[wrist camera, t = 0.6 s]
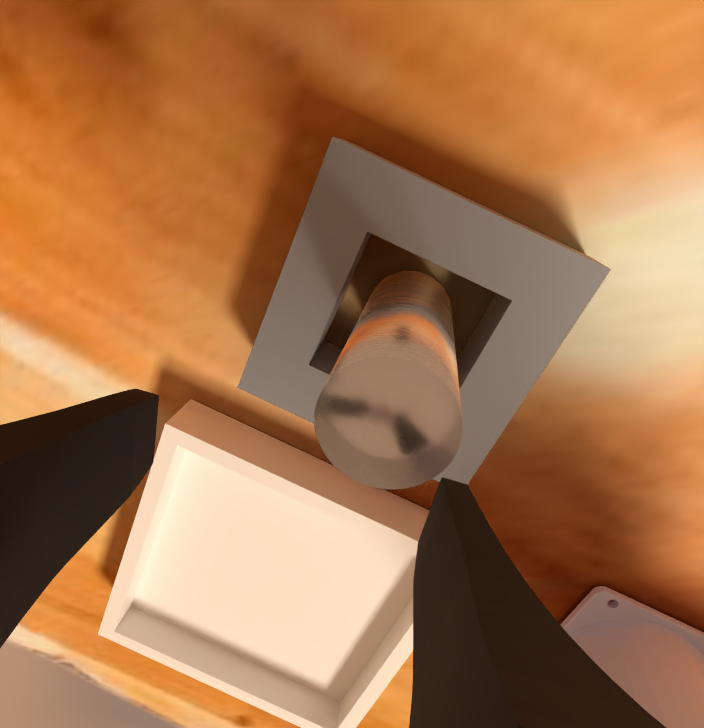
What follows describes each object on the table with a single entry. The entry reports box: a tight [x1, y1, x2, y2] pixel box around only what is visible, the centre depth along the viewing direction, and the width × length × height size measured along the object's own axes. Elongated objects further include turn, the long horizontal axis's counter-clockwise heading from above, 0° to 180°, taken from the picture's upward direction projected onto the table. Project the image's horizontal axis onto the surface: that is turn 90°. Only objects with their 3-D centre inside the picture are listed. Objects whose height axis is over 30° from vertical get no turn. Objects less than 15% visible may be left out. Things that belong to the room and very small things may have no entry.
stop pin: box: [314, 271, 463, 489], centre depth 16 cm, size 4×4×10 cm
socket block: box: [237, 136, 611, 485], centre depth 20 cm, size 10×10×3 cm
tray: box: [98, 399, 430, 728], centre depth 26 cm, size 15×15×2 cm
